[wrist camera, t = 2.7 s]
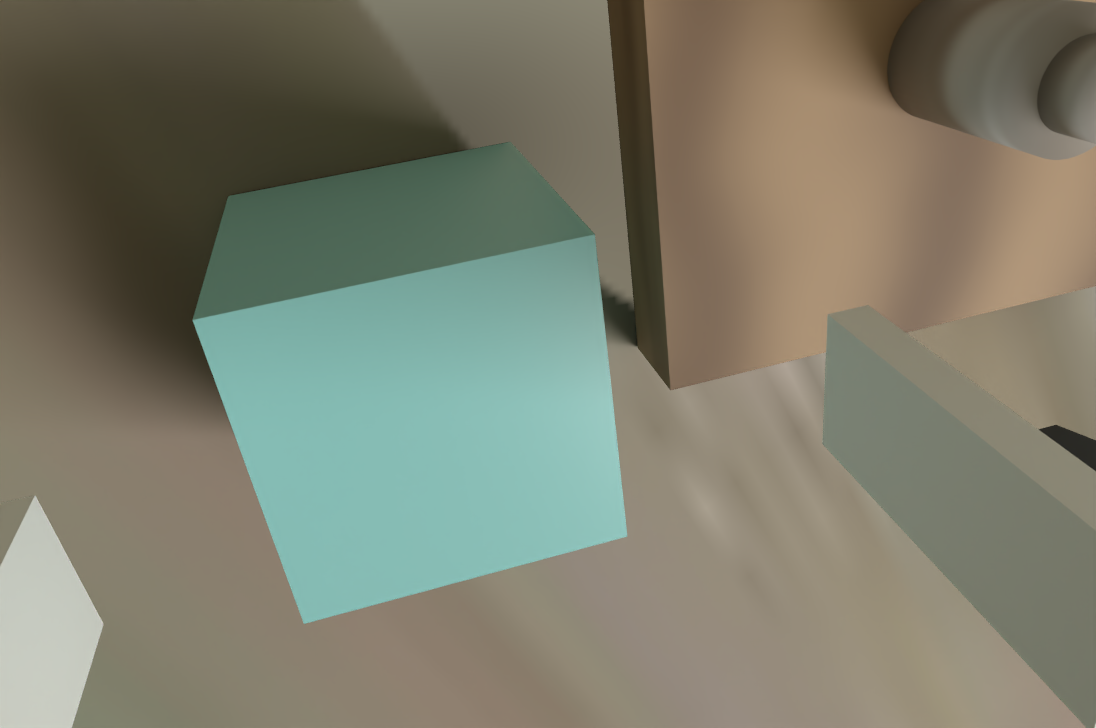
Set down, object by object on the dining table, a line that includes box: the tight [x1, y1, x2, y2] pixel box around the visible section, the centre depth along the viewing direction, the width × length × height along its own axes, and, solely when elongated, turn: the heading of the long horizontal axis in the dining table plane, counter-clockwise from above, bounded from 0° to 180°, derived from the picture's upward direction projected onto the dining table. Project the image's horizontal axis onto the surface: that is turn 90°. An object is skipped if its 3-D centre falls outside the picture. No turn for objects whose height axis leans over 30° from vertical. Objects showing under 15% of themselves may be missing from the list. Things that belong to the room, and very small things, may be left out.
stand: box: [607, 0, 1096, 390], centre depth 18 cm, size 14×14×8 cm
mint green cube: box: [193, 142, 627, 624], centre depth 19 cm, size 7×7×7 cm
